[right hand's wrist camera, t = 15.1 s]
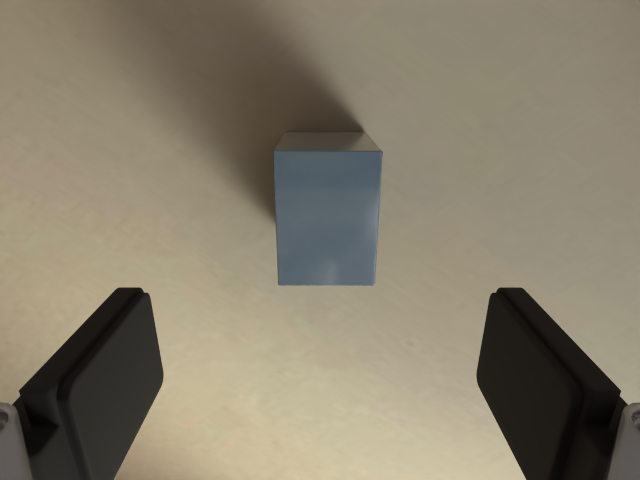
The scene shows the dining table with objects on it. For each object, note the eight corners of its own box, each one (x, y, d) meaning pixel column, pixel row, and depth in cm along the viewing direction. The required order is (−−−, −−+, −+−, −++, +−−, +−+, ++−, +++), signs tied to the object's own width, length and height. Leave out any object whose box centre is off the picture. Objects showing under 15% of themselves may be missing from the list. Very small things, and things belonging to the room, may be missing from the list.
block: (287, 237, 28) (278, 285, 21) (284, 131, 25) (272, 150, 19) (361, 237, 28) (375, 286, 21) (366, 132, 25) (382, 150, 19)
